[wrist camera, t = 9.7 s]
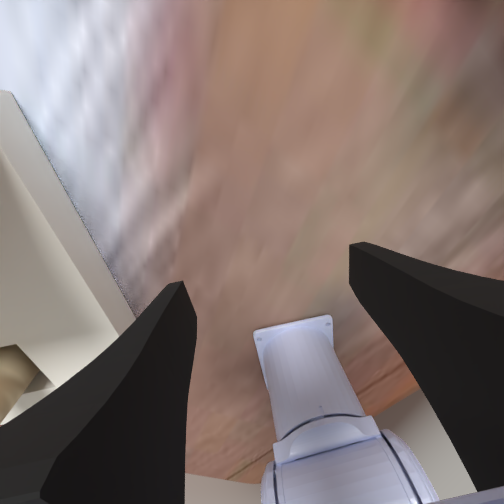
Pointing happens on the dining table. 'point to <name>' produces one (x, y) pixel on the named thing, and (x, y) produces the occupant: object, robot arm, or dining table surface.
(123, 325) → the station
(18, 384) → the peg
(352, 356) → the dining table surface
